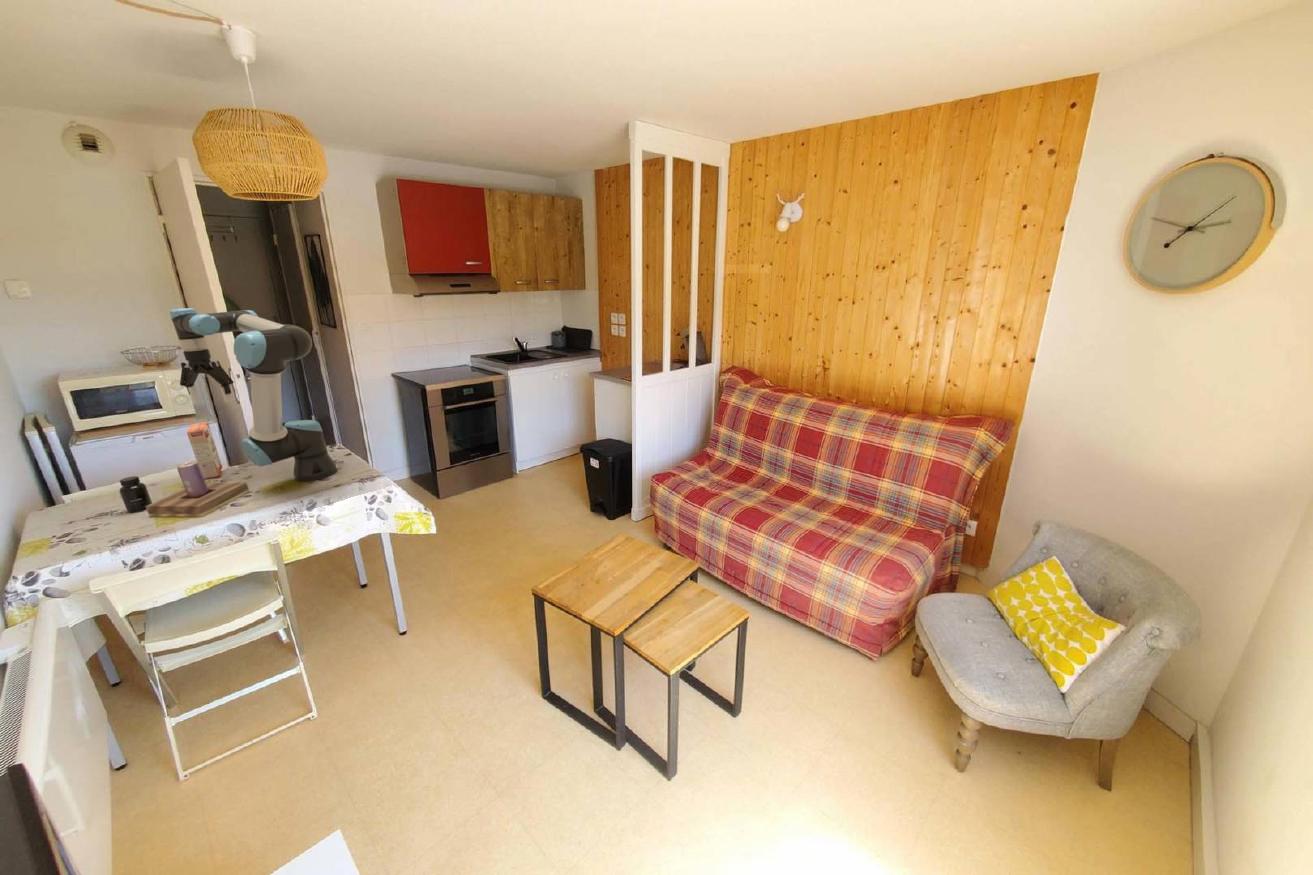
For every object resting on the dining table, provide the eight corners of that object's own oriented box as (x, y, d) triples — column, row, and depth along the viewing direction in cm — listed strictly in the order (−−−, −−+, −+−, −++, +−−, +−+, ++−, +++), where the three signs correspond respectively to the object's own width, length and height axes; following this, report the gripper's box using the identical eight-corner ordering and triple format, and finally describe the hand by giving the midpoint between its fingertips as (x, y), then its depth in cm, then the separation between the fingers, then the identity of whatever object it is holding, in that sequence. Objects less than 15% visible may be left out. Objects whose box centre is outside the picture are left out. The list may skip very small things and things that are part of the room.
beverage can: (215, 497, 189) (202, 460, 184) (200, 504, 183) (186, 466, 178) (201, 497, 189) (187, 460, 184) (186, 504, 184) (171, 466, 179)
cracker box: (221, 476, 212) (204, 429, 205) (202, 479, 208) (185, 432, 201) (223, 466, 222) (208, 421, 215) (206, 469, 219) (189, 424, 212)
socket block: (249, 491, 195) (246, 482, 194) (202, 516, 176) (198, 506, 175) (201, 491, 197) (197, 482, 195) (149, 516, 178) (145, 506, 176)
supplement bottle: (137, 513, 180) (124, 483, 176) (122, 512, 182) (109, 482, 178) (158, 504, 187) (146, 475, 183) (144, 503, 188) (131, 474, 184)
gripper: (234, 347, 198) (250, 399, 205) (174, 348, 199) (192, 400, 206) (217, 350, 190) (234, 404, 197) (155, 351, 192) (175, 405, 199)
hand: (213, 402), depth 202 cm, fingers open, 13 cm apart
